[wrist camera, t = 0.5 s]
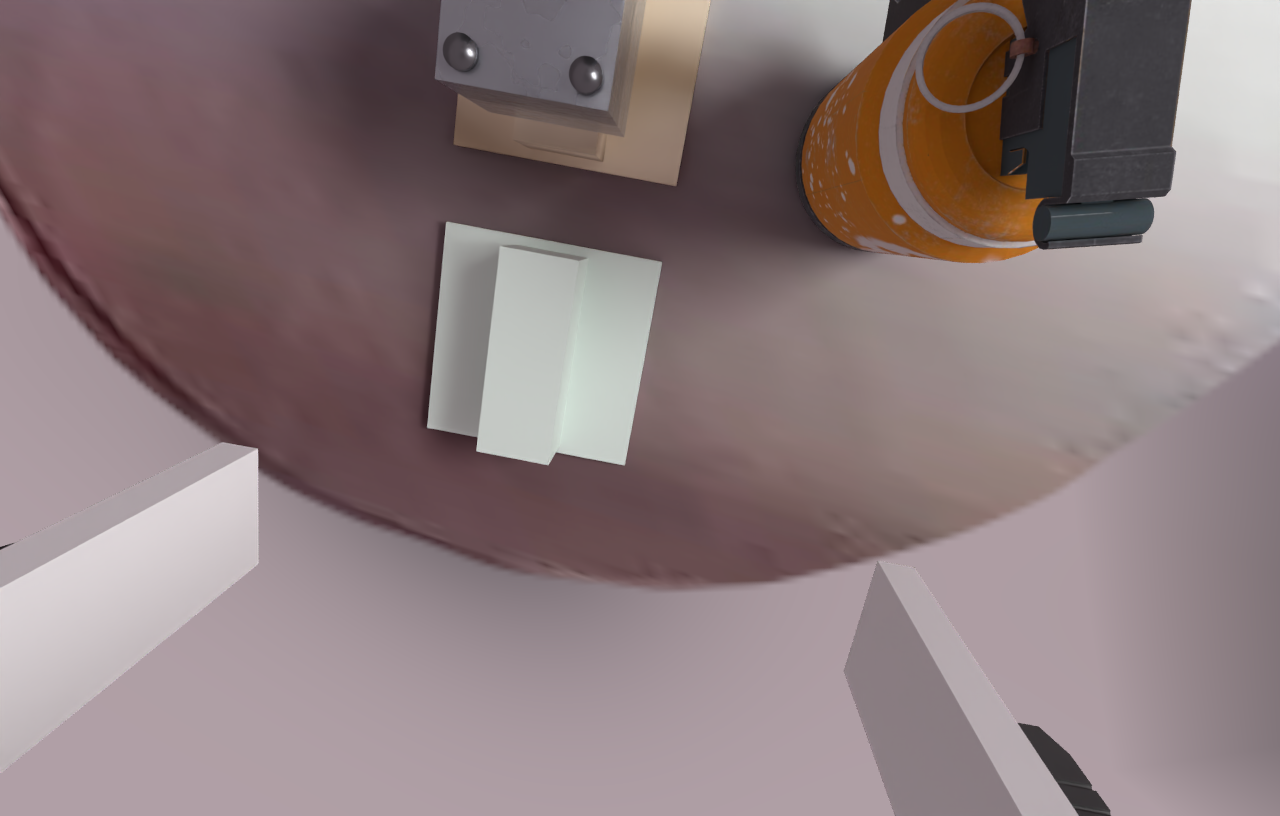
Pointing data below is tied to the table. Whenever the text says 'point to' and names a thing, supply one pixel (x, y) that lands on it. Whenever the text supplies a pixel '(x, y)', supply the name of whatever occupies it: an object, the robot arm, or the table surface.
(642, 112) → the stand
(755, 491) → the table surface
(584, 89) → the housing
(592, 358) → the stand
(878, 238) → the canister
